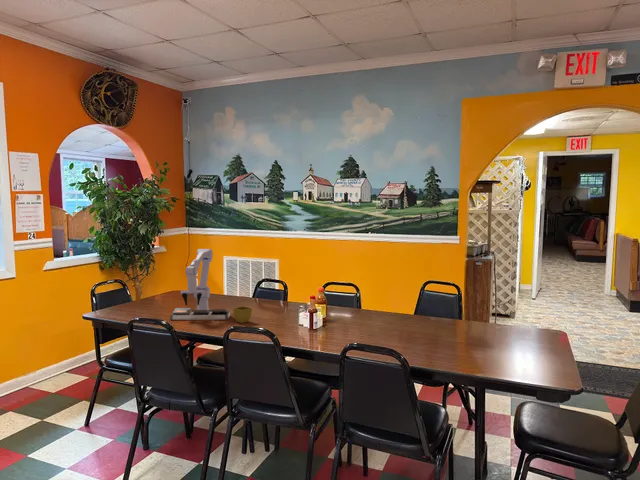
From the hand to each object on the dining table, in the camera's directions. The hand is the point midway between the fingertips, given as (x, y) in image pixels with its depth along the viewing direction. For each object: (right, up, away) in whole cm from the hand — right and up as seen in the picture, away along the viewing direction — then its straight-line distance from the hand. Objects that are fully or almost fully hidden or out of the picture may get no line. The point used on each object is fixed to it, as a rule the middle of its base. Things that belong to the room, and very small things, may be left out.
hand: (192, 304), depth 297 cm
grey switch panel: (+6, -9, -1) cm, 10 cm away
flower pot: (+35, -10, -11) cm, 38 cm away
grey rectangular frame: (-6, -4, -2) cm, 8 cm away
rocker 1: (+6, -4, -1) cm, 7 cm away
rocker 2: (+18, -4, -1) cm, 18 cm away
